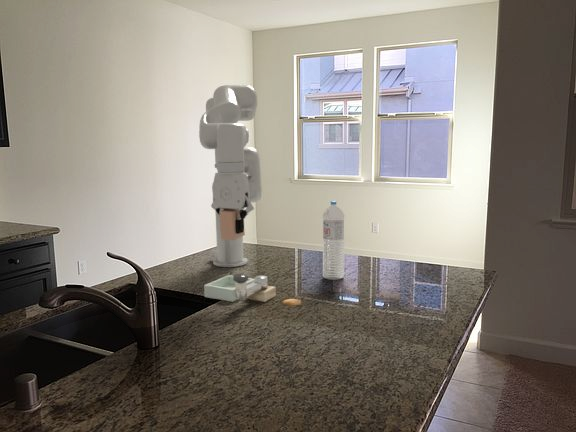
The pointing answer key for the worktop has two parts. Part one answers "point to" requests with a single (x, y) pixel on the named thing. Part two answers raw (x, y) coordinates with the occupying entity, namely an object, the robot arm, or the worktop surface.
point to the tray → (223, 288)
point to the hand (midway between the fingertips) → (232, 231)
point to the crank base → (271, 296)
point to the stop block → (229, 225)
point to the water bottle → (333, 243)
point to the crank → (247, 290)
